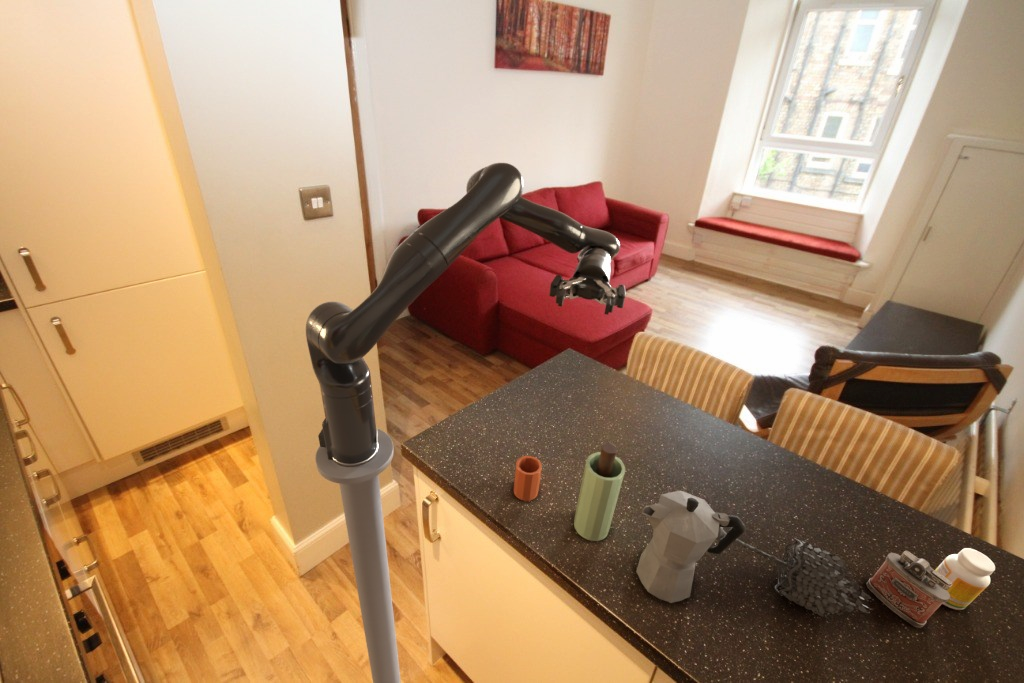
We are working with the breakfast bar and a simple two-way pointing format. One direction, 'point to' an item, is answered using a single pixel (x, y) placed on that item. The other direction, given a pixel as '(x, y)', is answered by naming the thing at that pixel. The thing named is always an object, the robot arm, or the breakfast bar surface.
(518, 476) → the pot
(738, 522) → the coffeepot
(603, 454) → the bottle brush
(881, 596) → the lighter
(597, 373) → the breakfast bar surface
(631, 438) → the breakfast bar surface
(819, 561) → the massage brush
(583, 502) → the vase
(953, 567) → the supplement bottle
